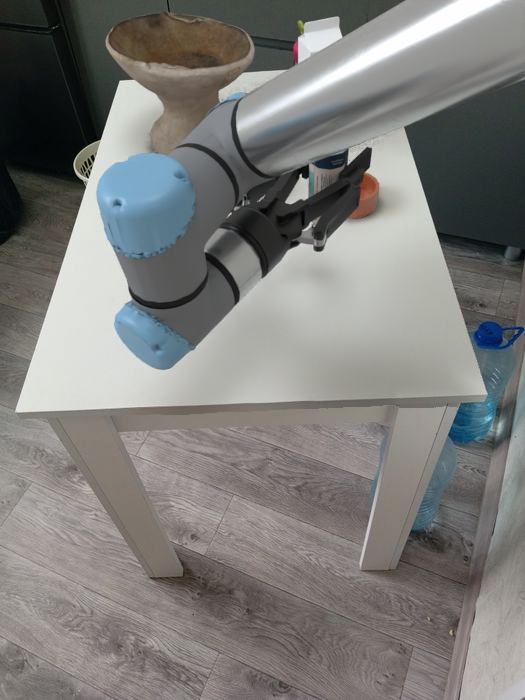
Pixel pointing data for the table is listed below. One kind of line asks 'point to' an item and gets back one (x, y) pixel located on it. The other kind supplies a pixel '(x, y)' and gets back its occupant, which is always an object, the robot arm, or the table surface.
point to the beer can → (326, 173)
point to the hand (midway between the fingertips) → (349, 150)
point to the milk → (318, 36)
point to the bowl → (180, 66)
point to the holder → (367, 197)
